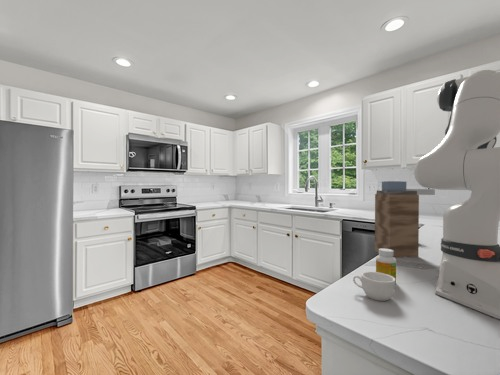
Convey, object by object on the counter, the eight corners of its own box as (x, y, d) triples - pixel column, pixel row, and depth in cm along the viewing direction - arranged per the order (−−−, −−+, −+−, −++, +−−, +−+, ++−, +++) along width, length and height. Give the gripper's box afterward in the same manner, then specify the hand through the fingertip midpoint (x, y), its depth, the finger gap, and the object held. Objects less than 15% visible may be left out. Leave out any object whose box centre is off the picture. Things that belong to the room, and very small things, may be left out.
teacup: (397, 296, 65) (397, 275, 65) (392, 307, 59) (393, 284, 59) (356, 286, 71) (356, 268, 71) (349, 296, 65) (349, 275, 65)
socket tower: (419, 256, 104) (420, 191, 104) (389, 257, 102) (390, 190, 102) (402, 250, 114) (402, 190, 114) (374, 251, 112) (375, 190, 112)
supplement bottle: (393, 286, 71) (393, 253, 71) (373, 281, 75) (373, 249, 75) (398, 281, 75) (398, 249, 75) (379, 277, 79) (379, 246, 79)
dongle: (435, 194, 107) (436, 182, 108) (389, 194, 105) (389, 181, 105) (426, 194, 112) (426, 182, 112) (381, 194, 110) (381, 181, 110)
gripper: (436, 164, 125) (414, 176, 123) (469, 147, 105) (443, 162, 104) (445, 174, 123) (422, 187, 122) (480, 159, 103) (453, 174, 102)
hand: (432, 175), depth 113 cm, fingers open, 8 cm apart
